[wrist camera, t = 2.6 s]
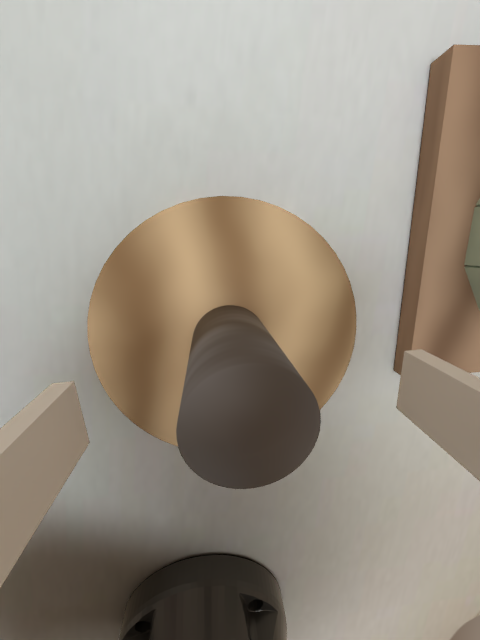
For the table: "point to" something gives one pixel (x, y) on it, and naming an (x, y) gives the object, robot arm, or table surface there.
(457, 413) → the robot arm
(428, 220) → the serving board
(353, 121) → the table surface
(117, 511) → the table surface
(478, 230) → the bowl
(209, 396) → the lid
